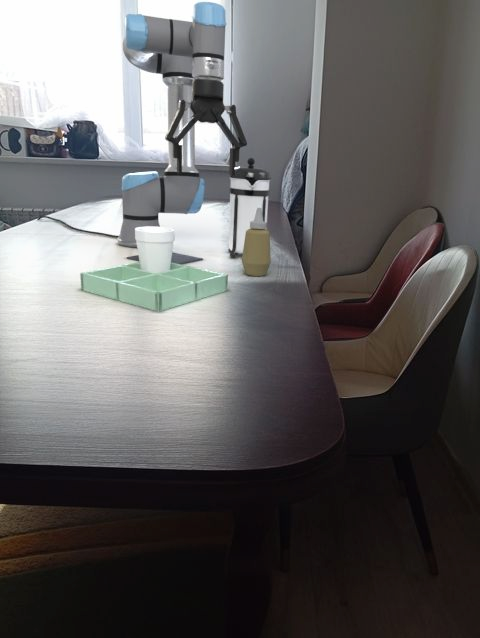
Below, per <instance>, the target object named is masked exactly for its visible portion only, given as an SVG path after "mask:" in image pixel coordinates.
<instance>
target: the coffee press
mask: <svg viewBox="0 0 480 638" xmlns="http://www.w3.org/2000/svg"><path fill="white" fill-rule="evenodd" d="M255 161H256V160H255V158H253V157H249V158H248V159H247V161H246V162H247V164H248V165H247V166H237V167H236V166H235V176H231V175H229V180H230V186H229V195H230V196H229V216H228V217H229V219H228V220H229V221H228V222H229V224H228V249H227V251H228V253H230V254H229V258H231V259H236V257H237V256H238V255H240V254H241V255H243V248H244V242H245V235H246V231H247V230H248V229H251V228H250V221H254V218H255V214H256V210H257V208H262V215H263V221H264V222H267V223H268V210H269V196H270V190H271V189H270V182H271V179H272V177H271V176H270V173H269V171H268V170H267V169H266V168H262V167H256V166H254V165H255Z"/></svg>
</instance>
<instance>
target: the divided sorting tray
mask: <svg viewBox="0 0 480 638" xmlns="http://www.w3.org/2000/svg"><path fill="white" fill-rule="evenodd" d="M79 276H80V277H79V278H80V290H81V291H84V292H87V293H90V294H94V295H98V296H101V297H105V298H109V299H111V300H116V301H119V302H122V303H126V304H130V305H134V306H137V307H140V308H144V309H147V310H151V311H154V312H158V313H159V312H163V311H167V310H169V309H173V308H177V307H179V306H181V305H186V304H189V303H192V302H195V301H199V300H201V299H204V298H208V297H212V296H214V295H217V294H221V293H225V292H228V285H229V284H228V283H229V274H227V273H222V272H217V271H212V270H208V269H204V268H200V267H195V266H189V265H185V264H176V263H171V265H170V270H169V271H164V272H160V273H153V272H149V271H145V270H141V267H140V261H136V262H131V263H126V264H120V265H115V266H110V267H104V268H99V269H95V270H89V271H83V272H80V273H79Z"/></svg>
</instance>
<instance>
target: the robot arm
mask: <svg viewBox="0 0 480 638" xmlns="http://www.w3.org/2000/svg"><path fill="white" fill-rule="evenodd" d="M191 20H192V21H188V20H181V19H172V18H165V17H164V18H163V17H158V16H151V15H144V14H142V13H136V14H135V13H127V14H126V15H125V17H124V38H123V41H122V52H123V54H124V57H125V58H126V60H127V61H128V62H129V63H130V64H131V65H133V66H134V67H136V68H137V69H139V70H142V71H144V72H147V73H151V74H157V75H159V74H160V75H162V77H161V78H162V79H161V80H162V82H163V83H164V85H165V86H166V87H167V88H166V89H167V129H168V130H167V132H166V134H165V137H164V139H165V141H167V144H168V165H167V167H166V168H165V170H164V173H163V174H164V175H163V176H160V175H159V173H158V171H142V172H140V171H139V172H134V173H132V172H131V173H126V174H124V175H123V176H122V178H121V191H120V192H122V193H121V194H122V195H121V196H122V197H121V198H122V199H121V201H122V224H121V227H120V232H119V234H118V235H114V234H109V233H105V232H99V231H91V230H85V229H82V228H77V227H73V226H72V225H70V224H68V223H66V222H65V221H63V220H61V219H57V218H53V217H51V216H48V215H41V216H39V217H38V218H37V220H38V221H39V220H41V219H44V218H45V219H49V220H51V221H55V222H59V223H61V224H63V225H65V226H66V227H67V228H70V229H71V230H75V231H78V232H82V233H86V234H93V235H100V236H106V237H111V238H117V244H118V245H120V246H122V247H128V248H137V242H136V239H135V228H138V227H147V226H154V227H161V225H160V222H159V221H160V220H159V214H180V215H183V214H184V215H189V214H191V215H192V214H193V215H195V214H198V213H199V212H200V211H201V209H202V206H203V202H204V197H205V188H206V187H205V180H204V179H203V178H202V177H200V172H199V170H198V169H197V168H196V151H195V150H196V148H195V147H196V145H195V144H196V143H195V141H196V138H195V135H196V133H195V124H196V123H197V122H199V123H208V124H216V125H217V127H219V128H220V131H222V133H223V134H224V136H225V137H226V139H227V140H228V141H229V143H230V145H231V146H232V147H230V148H229V166H228V168H229V169H228V171H229V172H228V176H230V175H231V176H235V168H236V163H239V161H240V149H241V148H243V147H246V146H248V141H247V139H246V136H245V133H244V131H243V128H242V126H241V124H240V123H241V122H240V121H239V118H238V115H237V106H236V105H235V104H230V105H225V104H224V91H225V89H224V88H225V87H224V86H225V84H224V83H223V80H225V52H226V51H225V49H226V26H227V22H226V21H227V20H226V9H225V7H224V6H223V5H221V3H220V4H219V3H217V2H211V1H199V2H196V3H195V4H194V5H193V7H192V16H191ZM224 112H225V113H226V115H227V116H228V117H229V120H230V123H231V125H232V128H233V130H234V133H235V135H236V137H235V135H234V134H233V132H232V130H231V129H230V128H229V126H228V124H227V123H226V121H225V119H224V118H223V116H222V115H223V114H224Z"/></svg>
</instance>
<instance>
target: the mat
mask: <svg viewBox="0 0 480 638" xmlns="http://www.w3.org/2000/svg"><path fill="white" fill-rule="evenodd" d="M126 259H128V260H133V261H136V262H140V261H139V254H137V255H136V254H135V255H130V256H127V257H126ZM203 260H204V258H202V257H197V256H192V255H188V254H183V253H177V252H174V251H172V257H171V263H176V264H181V265H185V264H189V263H194V262H200V261H203Z"/></svg>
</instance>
